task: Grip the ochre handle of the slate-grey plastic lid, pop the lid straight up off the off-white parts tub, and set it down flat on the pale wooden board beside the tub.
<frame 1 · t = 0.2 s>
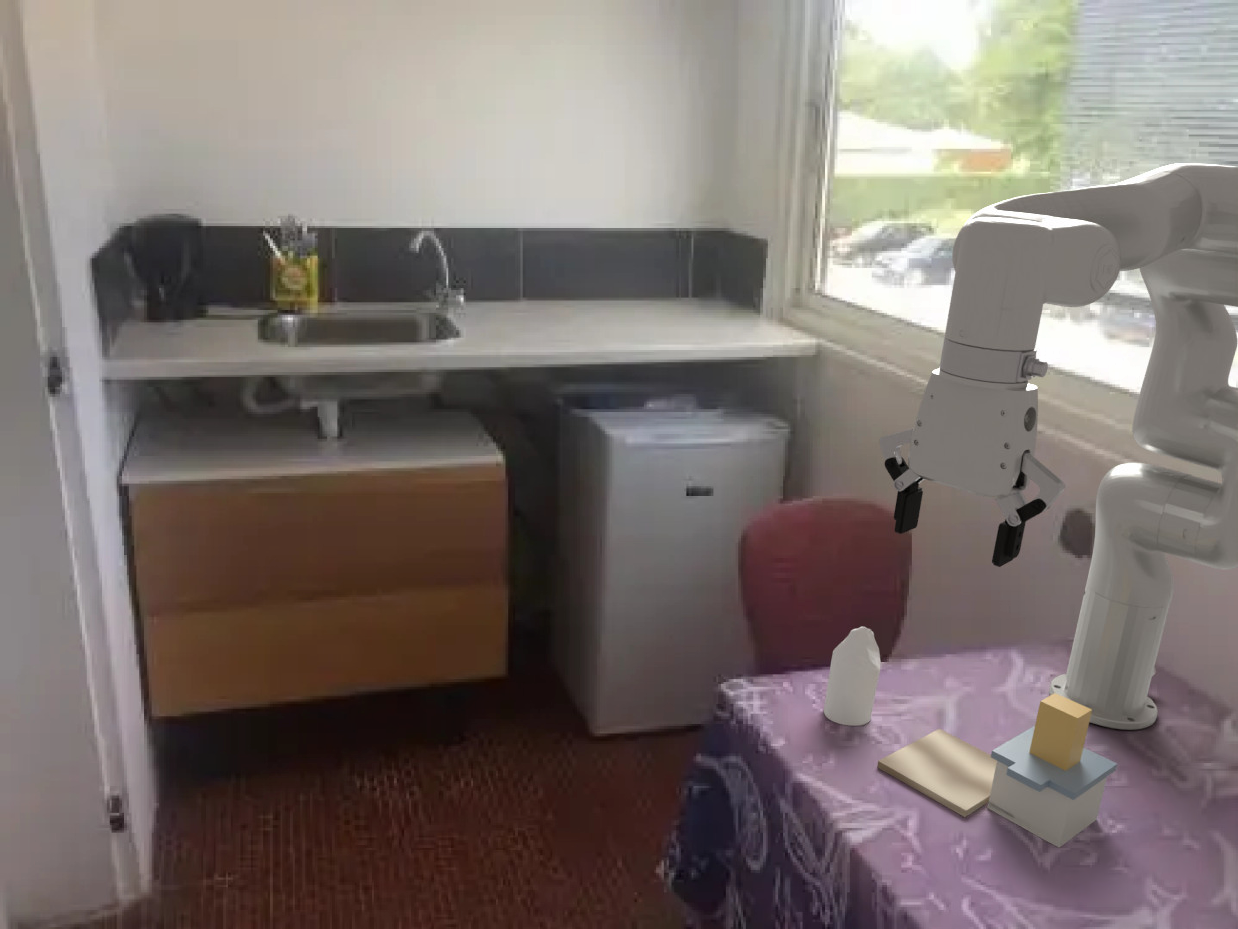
hand: (952, 545, 99), 31 cm above the table, tool pointing down, fingers open, 9 cm apart
board: (950, 773, 119), on the table
tub: (1041, 813, 113), on the table
white faceted top cylinder: (847, 716, 130), on the table
lid: (1053, 764, 111), point 6 cm above the table, touching tub
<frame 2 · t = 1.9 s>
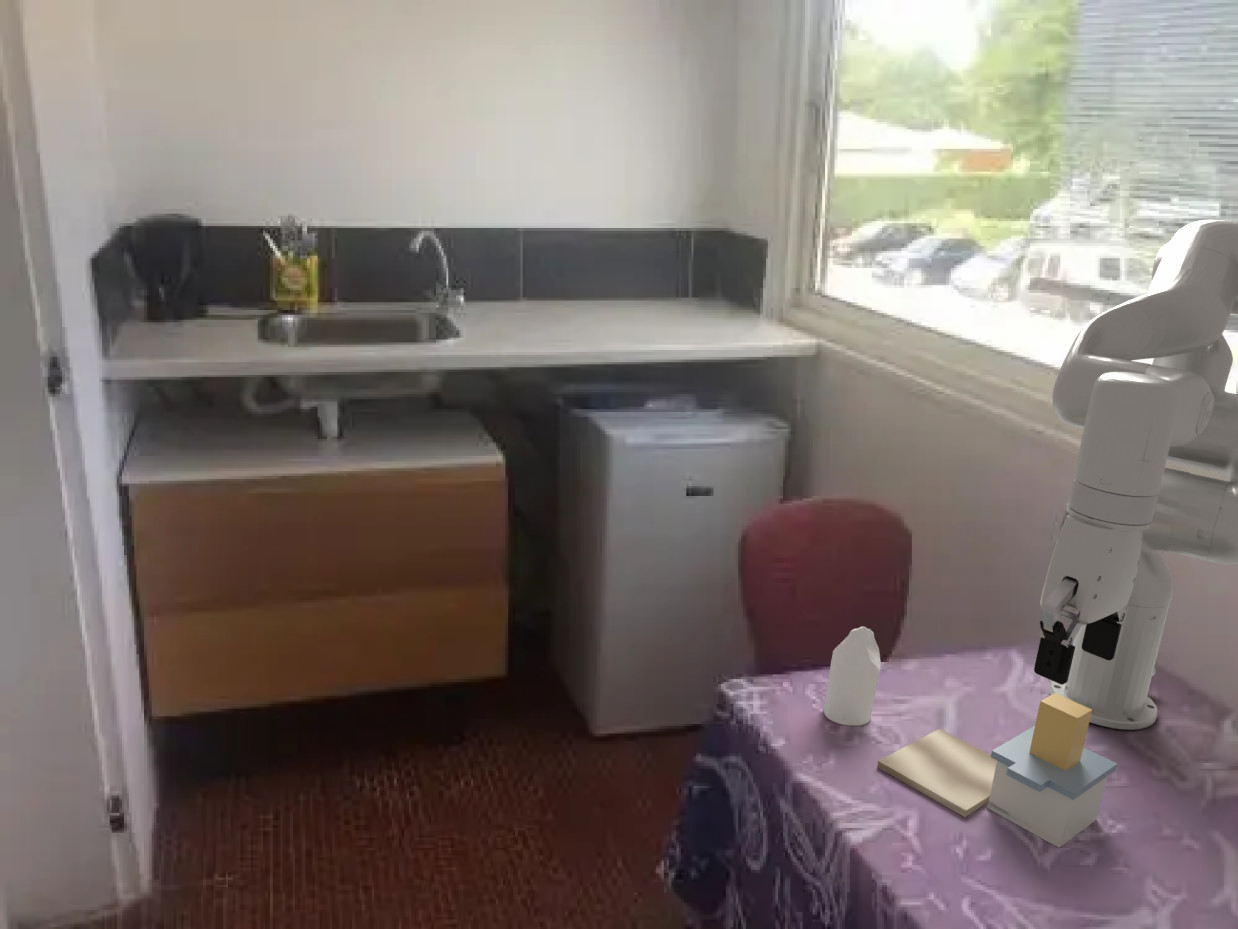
hand: (1074, 666, 107), 17 cm above the table, tool pointing down, fingers open, 9 cm apart
nothing on the table moved.
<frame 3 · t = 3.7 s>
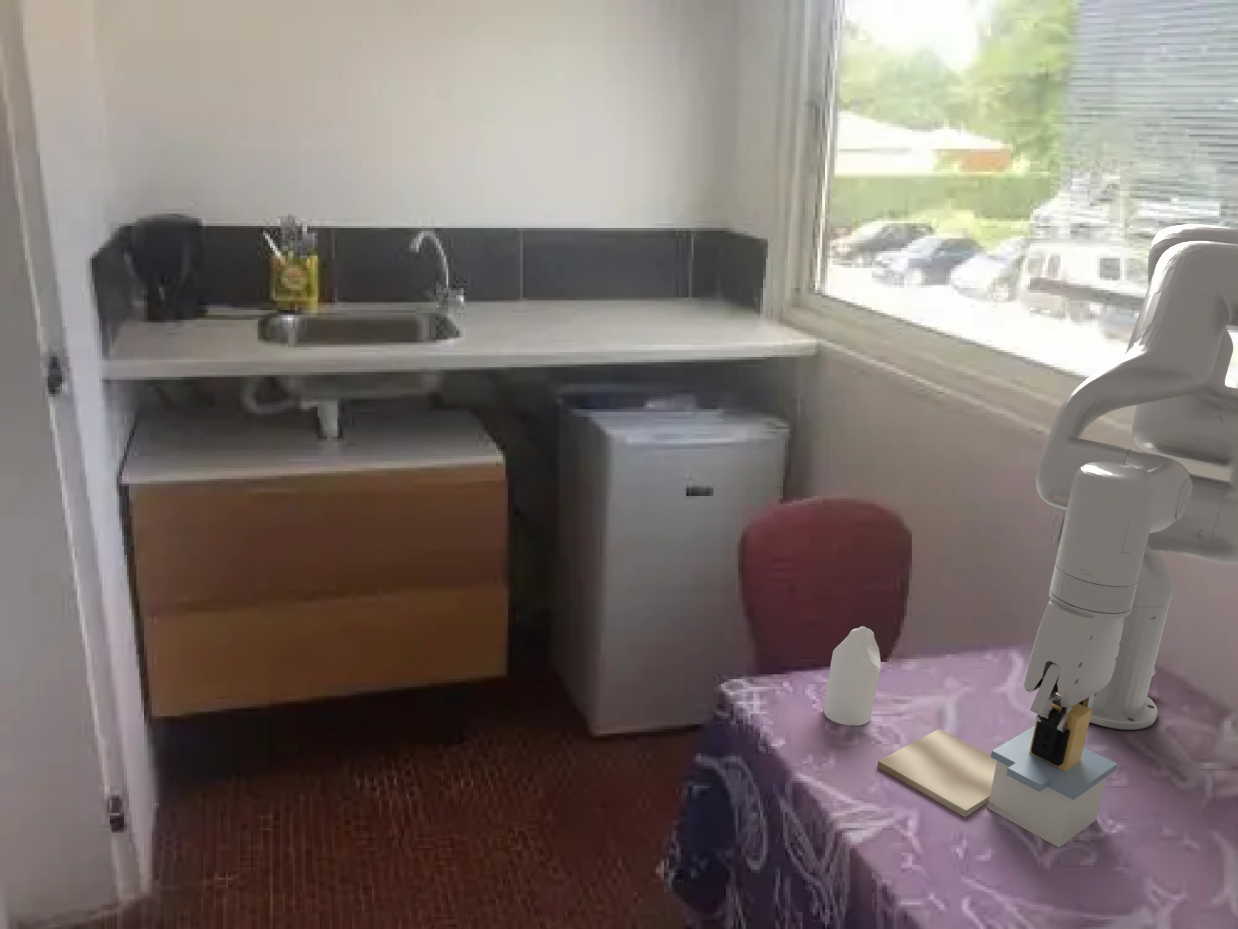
hand: (1055, 752, 111), 7 cm above the table, tool pointing down, fingers closed on lid, 3 cm apart
lid: (1053, 764, 111), point 6 cm above the table, touching gripper, tub
everything else where it was.
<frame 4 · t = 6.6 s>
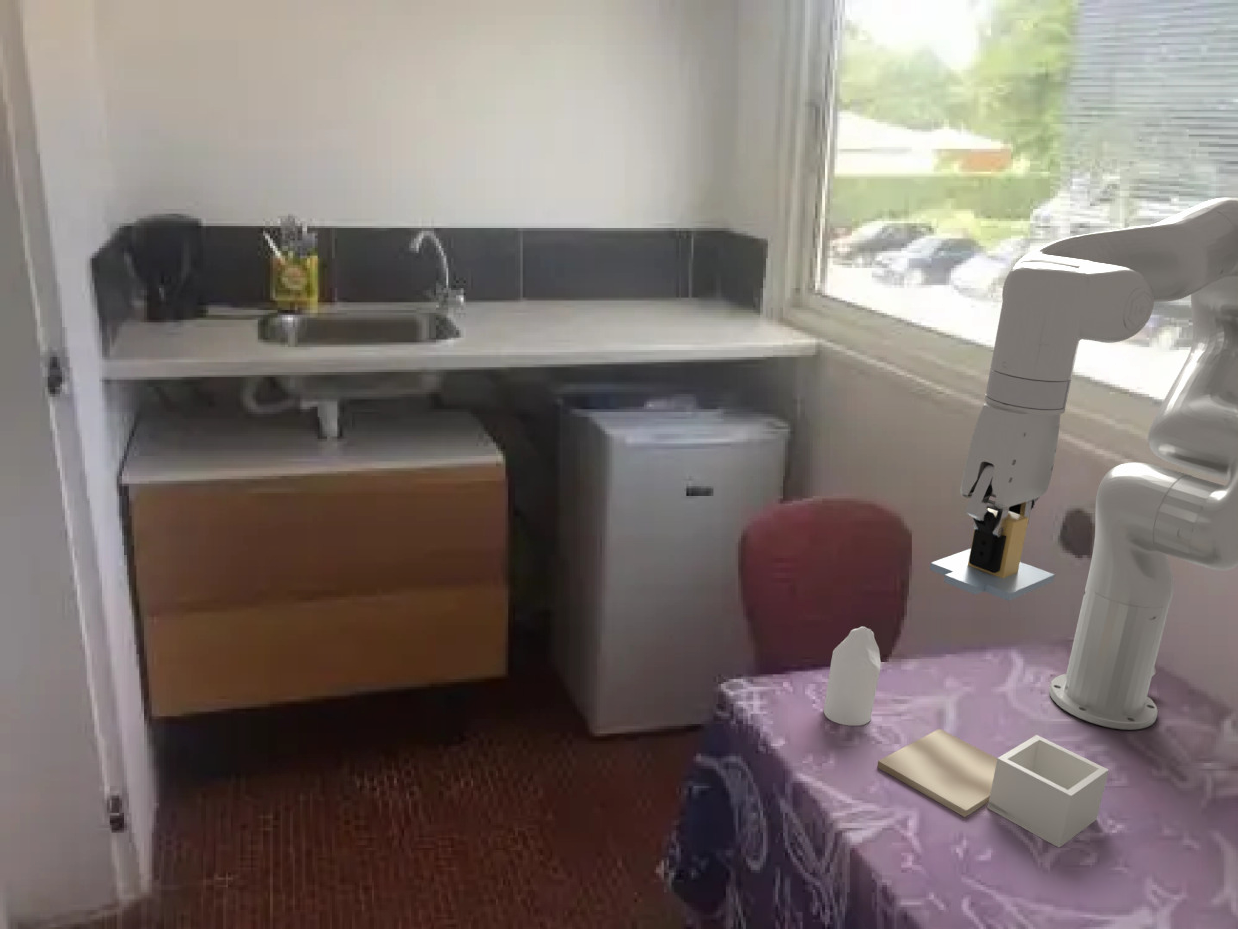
hand: (993, 563, 112), 25 cm above the table, tool pointing down, fingers closed on lid, 3 cm apart
lid: (991, 575, 112), point 24 cm above the table, touching gripper
everything else where it was.
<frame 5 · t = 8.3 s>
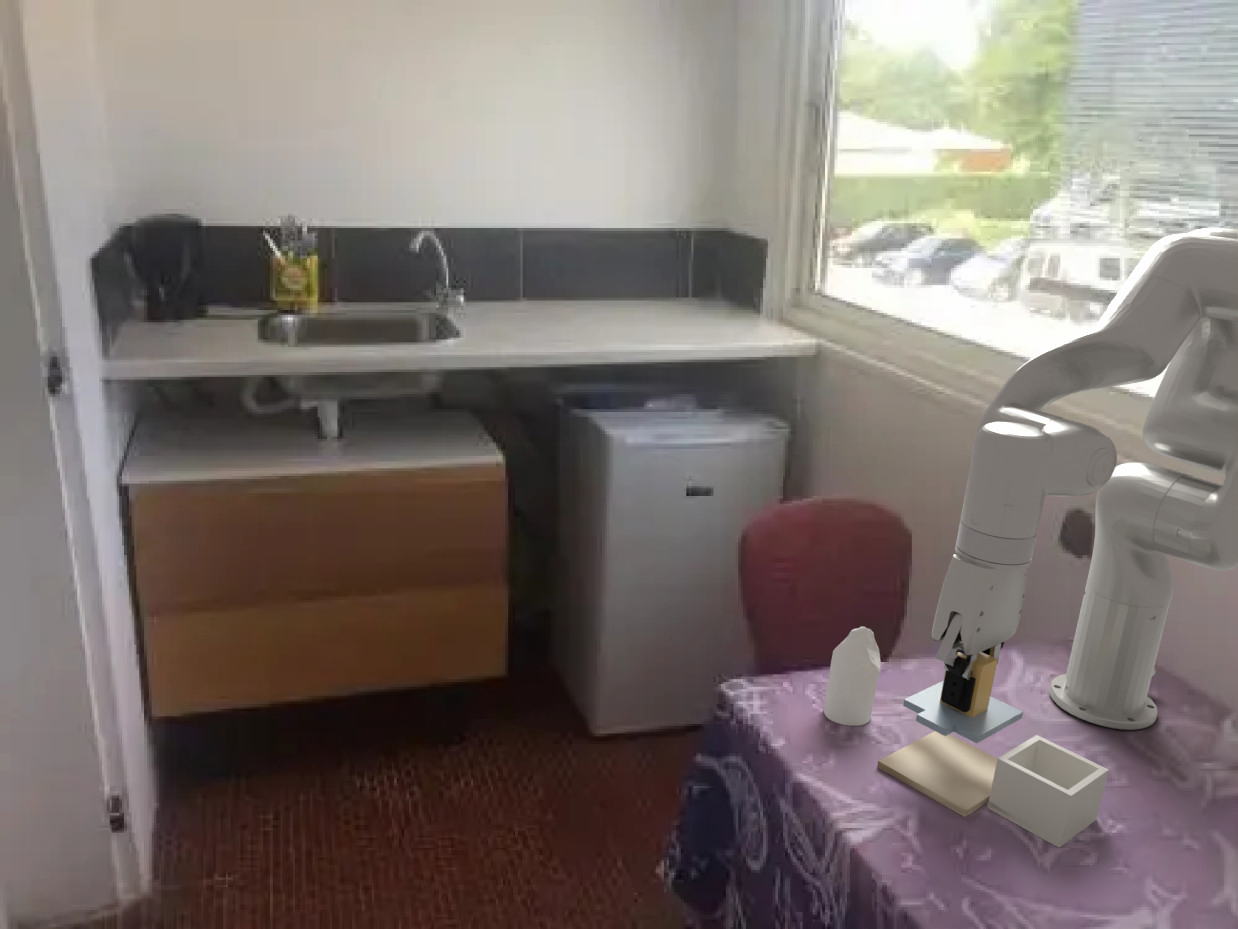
hand: (964, 700, 116), 9 cm above the table, tool pointing down, fingers closed on lid, 3 cm apart
lid: (962, 712, 117), point 8 cm above the table, touching gripper
everything else where it was.
when the fingers open (4 cm above the table, at t = 9.7 s): lid drops 1 cm, resting on board.
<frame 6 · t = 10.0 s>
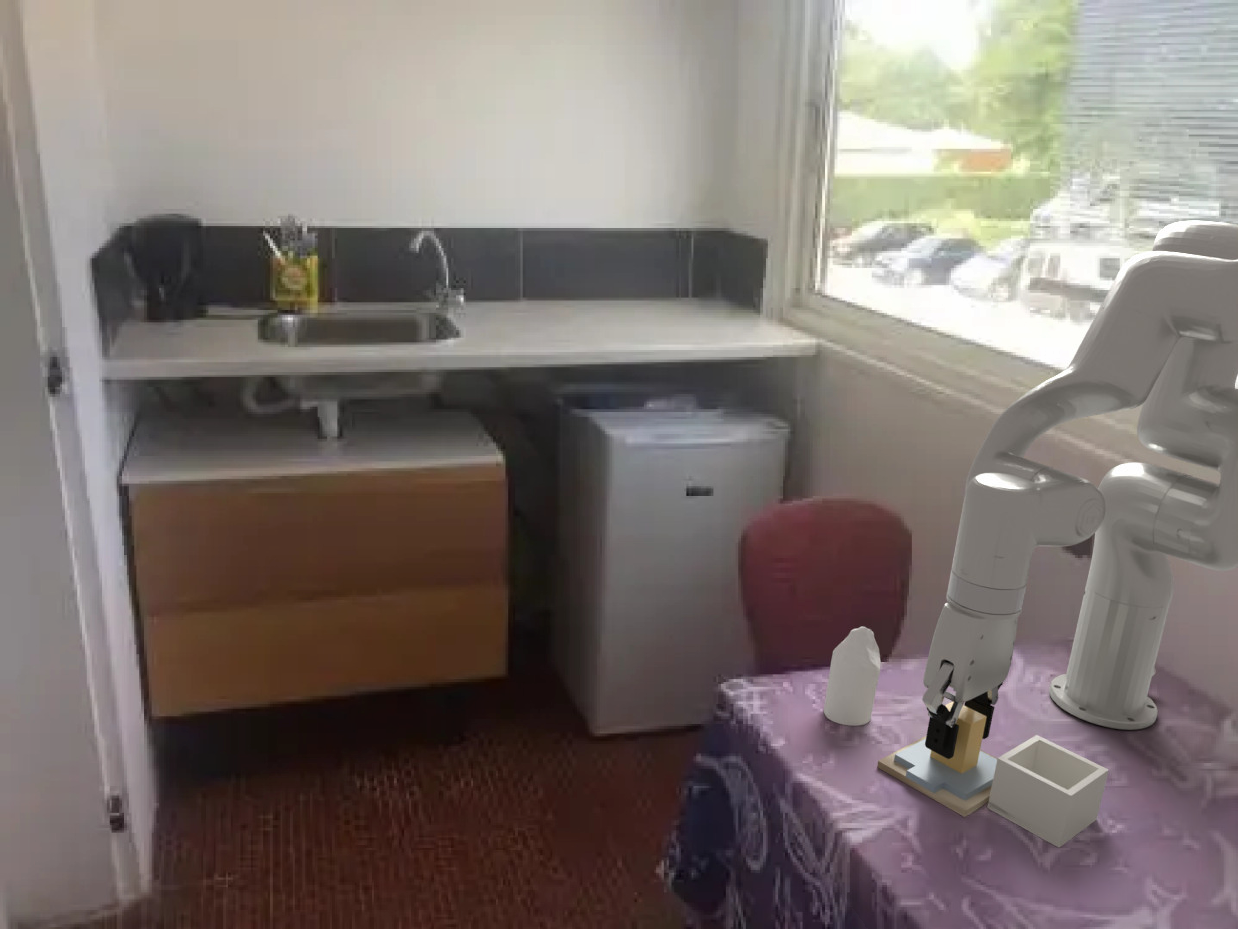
hand: (956, 741, 118), 4 cm above the table, tool pointing down, fingers open, 6 cm apart
lid: (952, 767, 119), point 1 cm above the table, touching board
everything else where it was.
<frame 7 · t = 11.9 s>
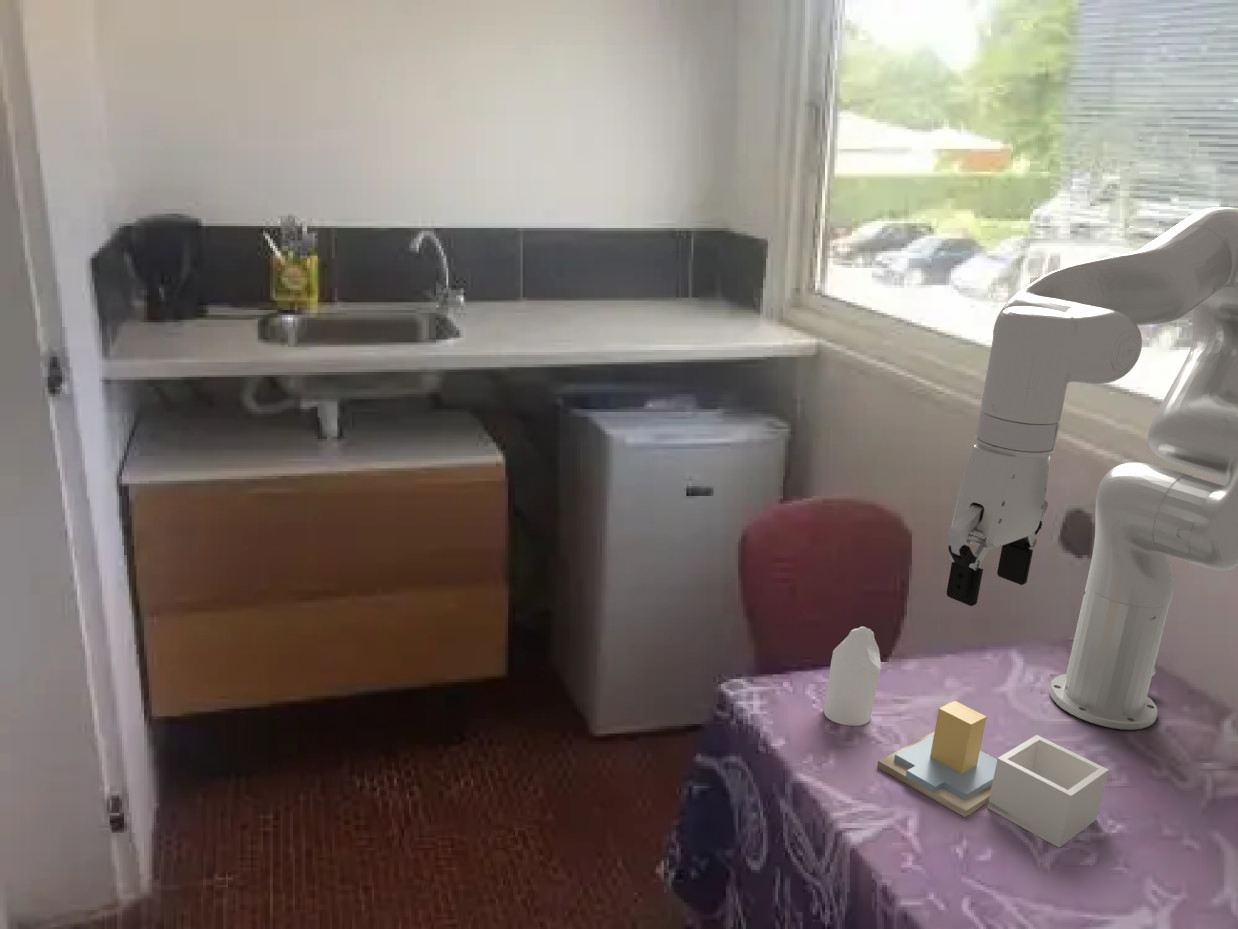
hand: (986, 590, 113), 22 cm above the table, tool pointing down, fingers open, 9 cm apart
nothing on the table moved.
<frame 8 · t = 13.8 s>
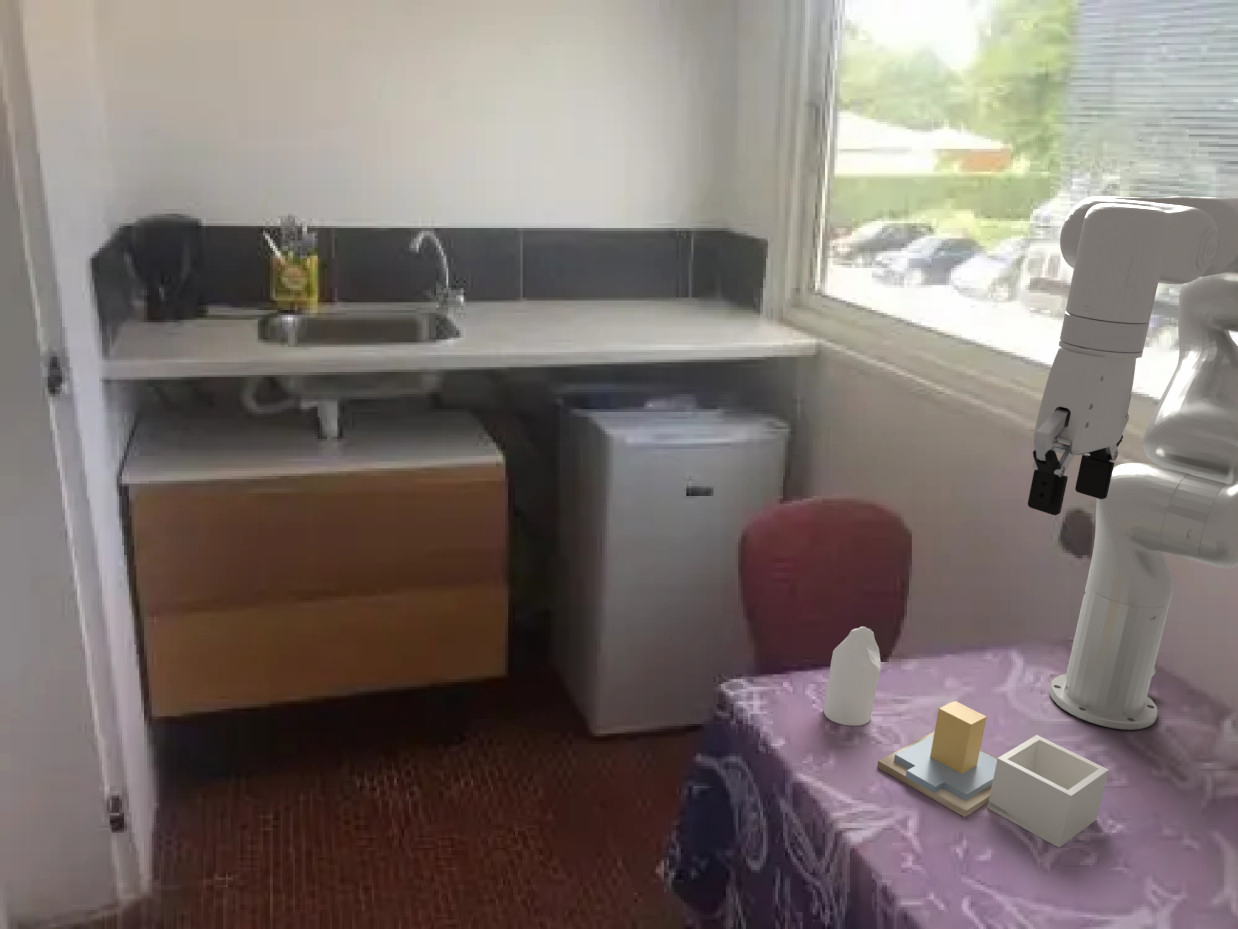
hand: (1067, 502, 109), 32 cm above the table, tool pointing down, fingers open, 9 cm apart
nothing on the table moved.
at the end: lid touching board; lid inside the target area on the board (0.0 cm from its centre), point 0.8 cm above the board's base; lid tilted 0° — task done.
